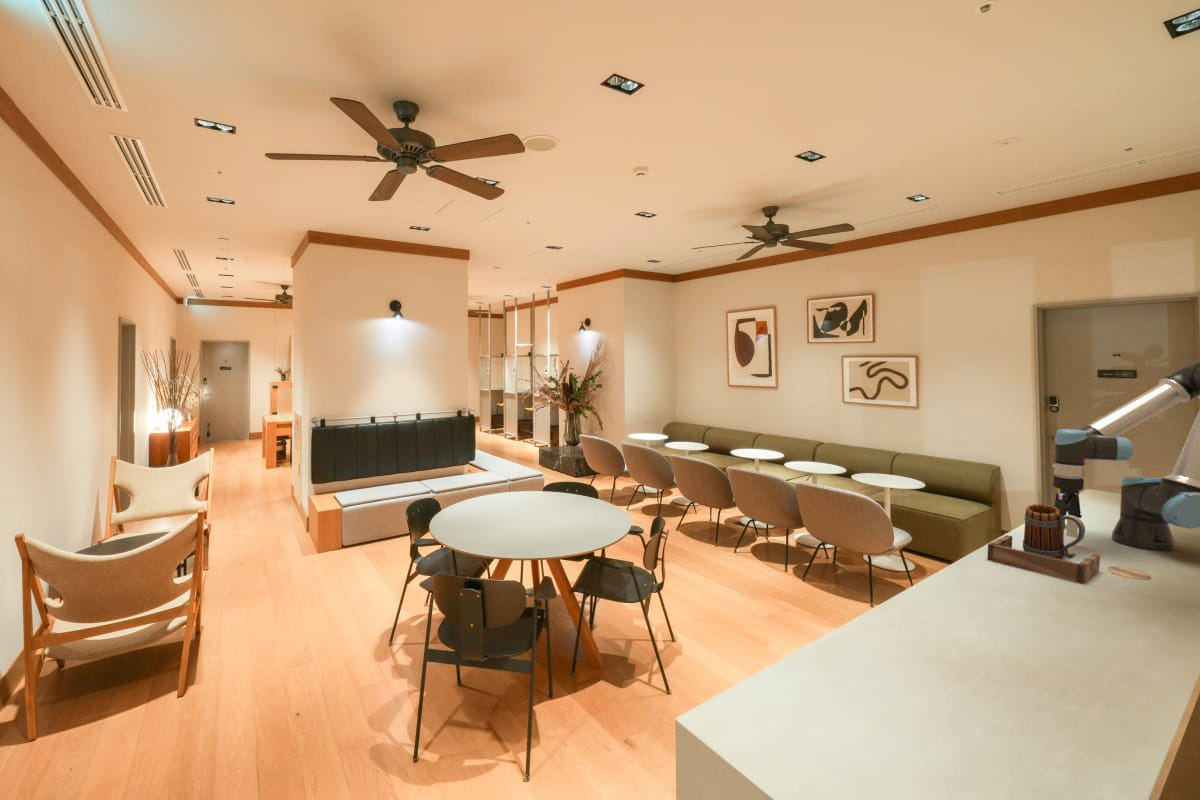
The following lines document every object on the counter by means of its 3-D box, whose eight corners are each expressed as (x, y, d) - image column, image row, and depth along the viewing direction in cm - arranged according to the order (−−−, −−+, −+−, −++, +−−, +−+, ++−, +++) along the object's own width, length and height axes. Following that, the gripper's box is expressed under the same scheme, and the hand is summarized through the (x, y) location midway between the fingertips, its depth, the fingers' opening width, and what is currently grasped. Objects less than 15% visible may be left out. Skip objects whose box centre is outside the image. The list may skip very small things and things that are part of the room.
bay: (1006, 549, 177) (1006, 535, 177) (1099, 571, 158) (1099, 554, 158) (987, 559, 168) (988, 544, 168) (1083, 583, 149) (1084, 566, 149)
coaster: (1112, 566, 163) (1112, 564, 163) (1154, 576, 155) (1154, 573, 155) (1104, 573, 157) (1104, 570, 157) (1147, 583, 150) (1147, 580, 150)
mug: (1015, 552, 174) (1014, 509, 171) (1032, 541, 178) (1032, 499, 176) (1075, 570, 160) (1075, 523, 157) (1092, 558, 164) (1092, 512, 162)
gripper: (1066, 470, 185) (1063, 530, 186) (1040, 479, 171) (1037, 543, 172) (1095, 474, 179) (1091, 536, 180) (1070, 483, 165) (1066, 550, 166)
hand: (1064, 540), depth 176 cm, fingers open, 13 cm apart
